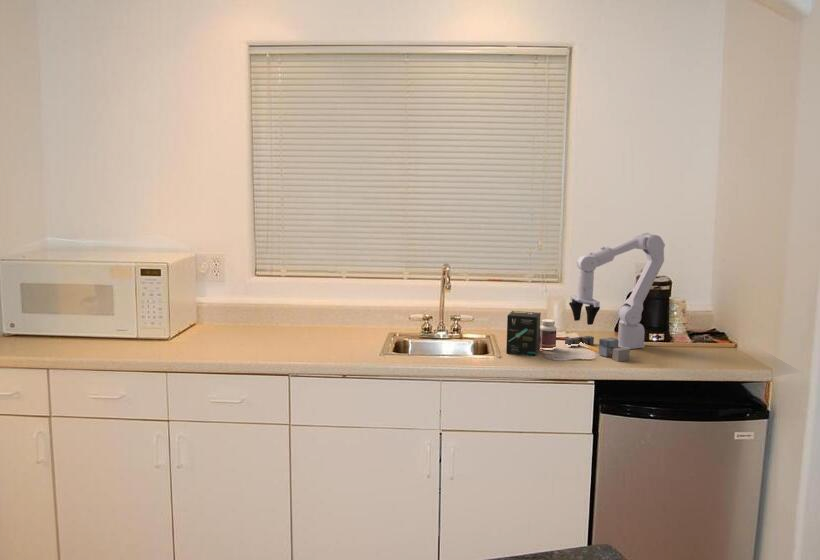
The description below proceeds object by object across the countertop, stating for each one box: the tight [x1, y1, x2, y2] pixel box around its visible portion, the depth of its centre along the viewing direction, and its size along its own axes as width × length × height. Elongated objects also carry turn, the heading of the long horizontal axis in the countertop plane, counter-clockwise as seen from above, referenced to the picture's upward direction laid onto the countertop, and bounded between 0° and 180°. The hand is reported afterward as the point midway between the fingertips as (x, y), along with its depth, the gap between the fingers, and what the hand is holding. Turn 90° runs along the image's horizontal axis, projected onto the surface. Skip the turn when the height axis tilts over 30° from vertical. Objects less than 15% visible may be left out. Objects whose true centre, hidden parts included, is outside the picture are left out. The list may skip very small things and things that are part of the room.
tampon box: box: [505, 310, 541, 357], centre depth 264 cm, size 11×9×15 cm
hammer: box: [579, 342, 631, 362], centre depth 265 cm, size 5×26×4 cm, turn 26°
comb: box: [564, 335, 595, 346], centre depth 276 cm, size 12×2×3 cm, turn 116°
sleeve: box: [598, 337, 619, 358], centre depth 261 cm, size 5×4×6 cm
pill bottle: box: [540, 318, 557, 348], centre depth 269 cm, size 6×6×11 cm
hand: (583, 322), depth 273 cm, fingers open, 7 cm apart
